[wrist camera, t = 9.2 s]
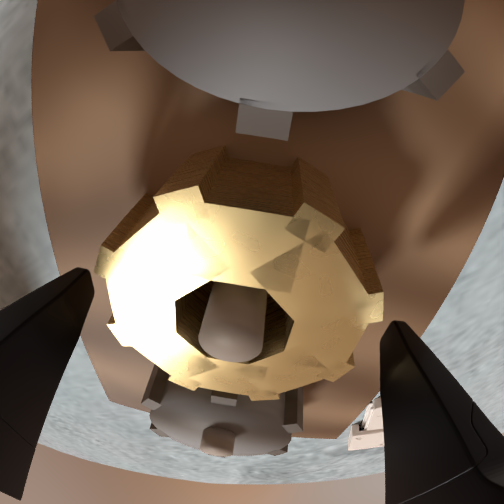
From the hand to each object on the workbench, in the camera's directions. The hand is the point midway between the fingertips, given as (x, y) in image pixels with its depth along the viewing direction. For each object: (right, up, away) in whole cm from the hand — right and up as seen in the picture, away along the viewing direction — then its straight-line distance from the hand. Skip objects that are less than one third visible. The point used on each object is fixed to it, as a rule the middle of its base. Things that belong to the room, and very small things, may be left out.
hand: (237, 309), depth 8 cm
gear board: (0, +2, +4) cm, 4 cm away
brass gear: (0, +1, +2) cm, 2 cm away
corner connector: (+12, -11, +12) cm, 21 cm away
